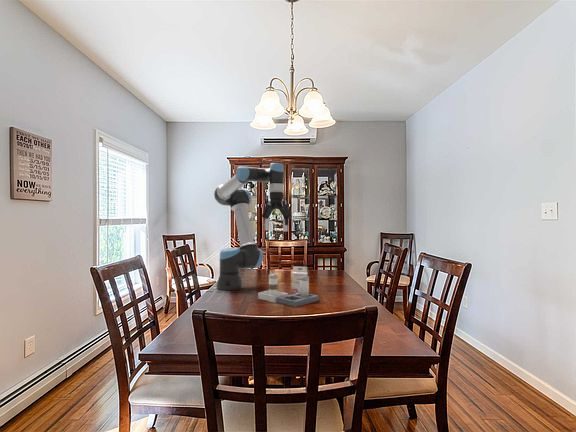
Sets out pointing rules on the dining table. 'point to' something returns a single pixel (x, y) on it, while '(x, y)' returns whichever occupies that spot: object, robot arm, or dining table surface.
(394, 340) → the dining table surface
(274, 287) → the fuse
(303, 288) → the fuse
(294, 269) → the grey stepped block
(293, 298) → the fuse panel
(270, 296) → the parts tray
